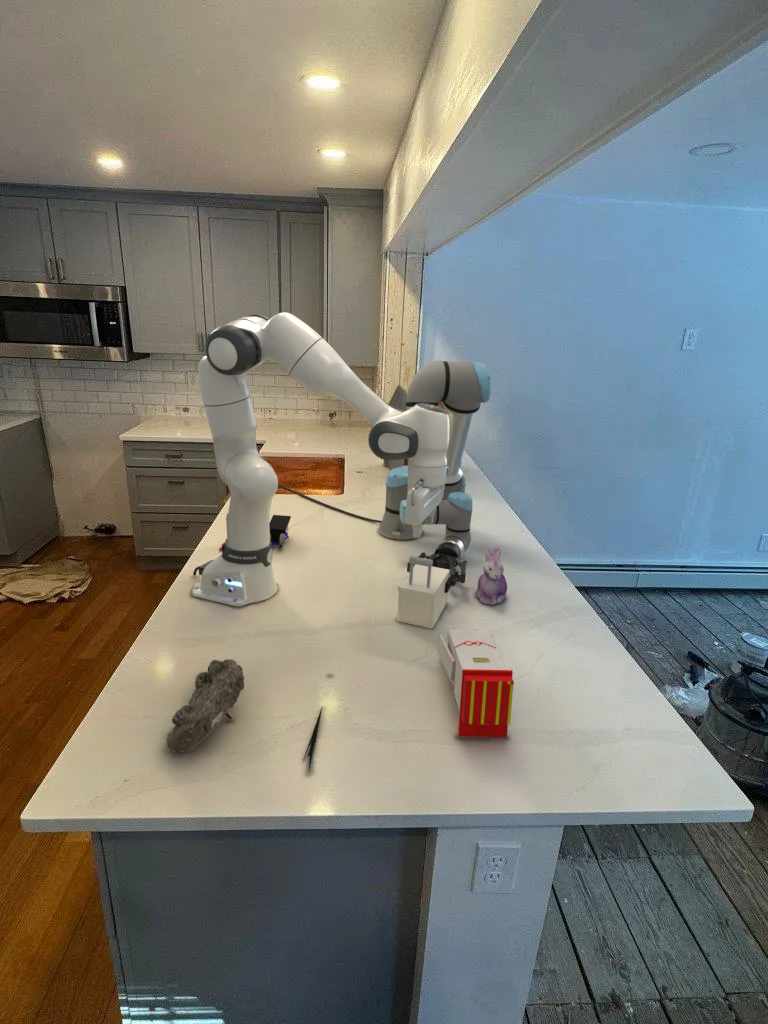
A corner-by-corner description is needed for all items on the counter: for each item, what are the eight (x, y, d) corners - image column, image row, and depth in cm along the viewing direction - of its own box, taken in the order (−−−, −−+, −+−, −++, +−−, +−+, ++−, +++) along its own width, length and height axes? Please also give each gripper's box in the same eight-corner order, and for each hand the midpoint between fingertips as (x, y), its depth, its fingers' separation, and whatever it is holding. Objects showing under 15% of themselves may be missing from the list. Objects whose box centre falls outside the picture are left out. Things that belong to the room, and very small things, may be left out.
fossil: (192, 660, 117) (244, 628, 112) (224, 691, 120) (276, 661, 115) (142, 746, 98) (202, 712, 93) (182, 779, 101) (242, 748, 96)
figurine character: (285, 555, 182) (292, 533, 195) (285, 534, 178) (291, 513, 192) (264, 554, 181) (272, 532, 195) (263, 534, 178) (271, 512, 191)
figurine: (489, 609, 152) (495, 558, 146) (466, 592, 160) (471, 543, 155) (516, 602, 156) (523, 552, 151) (493, 586, 164) (499, 538, 159)
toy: (488, 613, 130) (523, 677, 101) (484, 667, 133) (517, 744, 104) (435, 612, 130) (455, 676, 101) (432, 666, 133) (451, 743, 103)
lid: (434, 598, 138) (436, 566, 135) (397, 590, 141) (399, 558, 138) (449, 573, 151) (452, 543, 148) (416, 566, 154) (418, 537, 151)
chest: (432, 628, 141) (434, 596, 138) (397, 620, 144) (398, 589, 141) (446, 603, 154) (449, 573, 151) (414, 596, 157) (416, 566, 154)
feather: (331, 679, 122) (336, 673, 122) (307, 777, 96) (313, 769, 95) (324, 675, 122) (329, 669, 121) (298, 772, 95) (304, 764, 95)
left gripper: (427, 488, 121) (422, 548, 126) (450, 466, 139) (446, 519, 144) (399, 484, 123) (396, 543, 128) (426, 463, 141) (422, 515, 146)
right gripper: (484, 571, 167) (467, 605, 147) (413, 557, 174) (388, 588, 154) (486, 548, 165) (470, 579, 145) (414, 535, 172) (389, 563, 152)
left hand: (422, 530), depth 136 cm, fingers open, 8 cm apart
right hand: (427, 584), depth 150 cm, fingers closed on chest, 9 cm apart
